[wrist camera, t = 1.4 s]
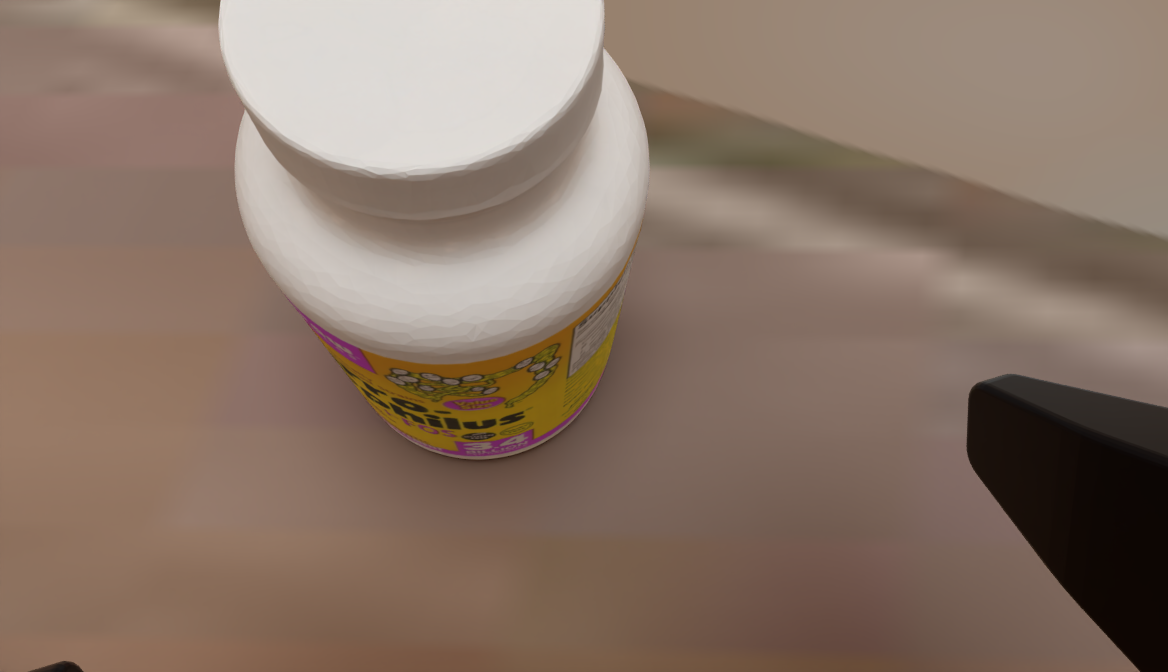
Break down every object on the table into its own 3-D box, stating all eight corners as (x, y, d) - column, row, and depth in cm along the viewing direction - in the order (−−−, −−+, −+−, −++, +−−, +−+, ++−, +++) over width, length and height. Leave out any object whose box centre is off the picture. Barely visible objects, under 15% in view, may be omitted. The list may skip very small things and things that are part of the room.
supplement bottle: (309, 394, 21) (-2, 93, 9) (437, 193, 24) (320, -268, 11) (538, 512, 21) (525, 353, 9) (650, 294, 23) (768, -85, 11)
